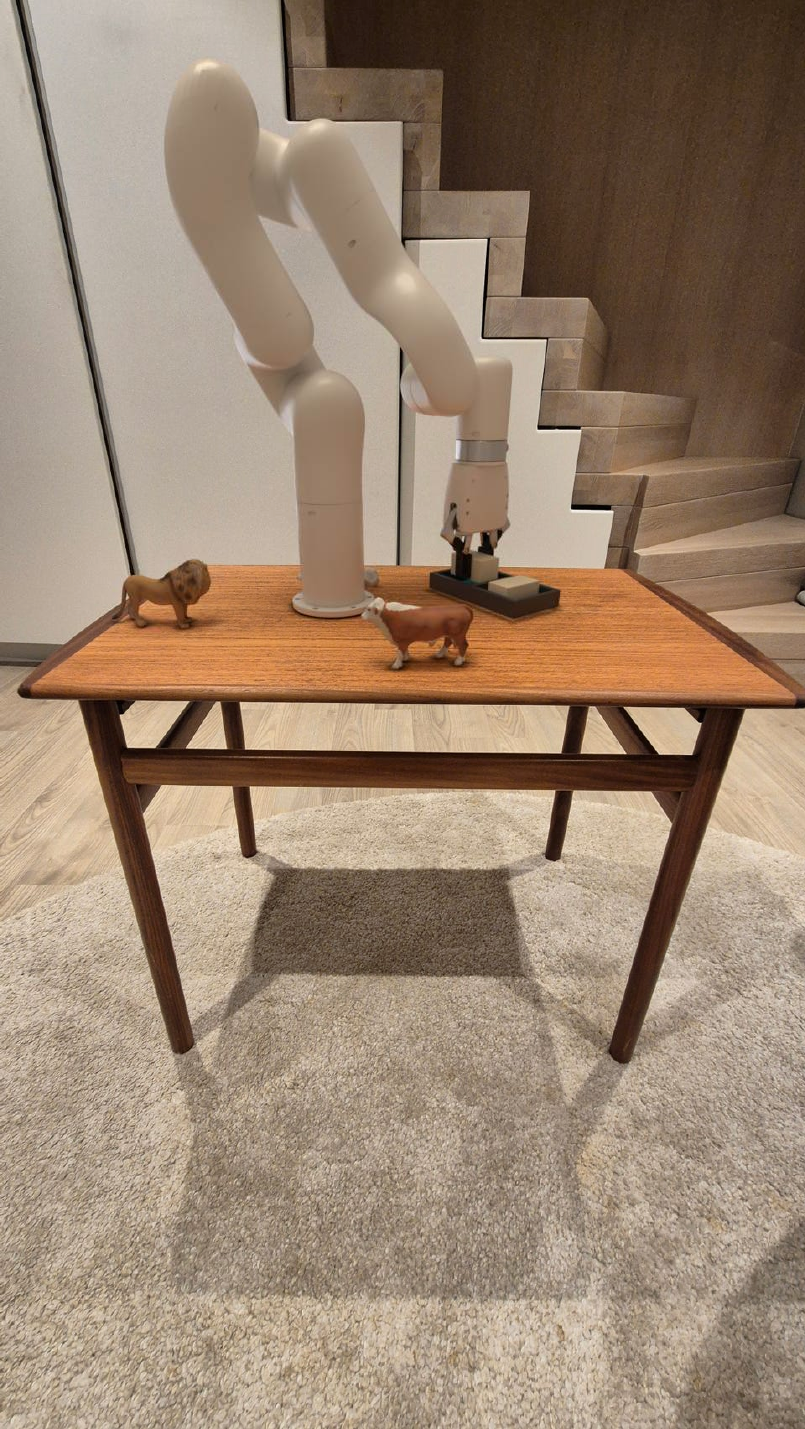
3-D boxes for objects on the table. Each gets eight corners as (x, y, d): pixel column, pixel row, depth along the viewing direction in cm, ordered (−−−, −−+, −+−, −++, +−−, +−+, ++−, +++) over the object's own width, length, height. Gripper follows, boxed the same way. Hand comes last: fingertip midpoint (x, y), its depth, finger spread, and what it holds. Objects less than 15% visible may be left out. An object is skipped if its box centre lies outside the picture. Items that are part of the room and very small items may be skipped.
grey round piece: (359, 584, 103) (359, 566, 102) (381, 584, 103) (381, 567, 102) (357, 590, 100) (357, 572, 99) (379, 590, 100) (379, 572, 98)
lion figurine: (221, 616, 88) (212, 554, 83) (212, 629, 83) (202, 564, 79) (119, 616, 87) (105, 554, 83) (104, 629, 82) (89, 564, 78)
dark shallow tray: (512, 622, 87) (514, 601, 85) (429, 590, 100) (429, 572, 99) (558, 609, 92) (561, 590, 90) (473, 581, 105) (474, 563, 104)
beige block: (486, 604, 92) (488, 581, 90) (518, 596, 96) (520, 574, 94) (505, 611, 89) (507, 588, 88) (537, 602, 93) (540, 580, 91)
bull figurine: (362, 656, 75) (360, 593, 71) (468, 654, 76) (472, 591, 72) (362, 671, 71) (360, 604, 67) (474, 668, 72) (479, 603, 68)
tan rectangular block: (479, 583, 94) (481, 561, 93) (450, 573, 99) (451, 552, 98) (497, 579, 96) (499, 557, 95) (468, 570, 101) (469, 549, 100)
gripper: (502, 448, 96) (494, 562, 105) (421, 454, 87) (419, 578, 96) (538, 451, 91) (526, 571, 100) (455, 458, 82) (450, 589, 91)
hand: (473, 573), depth 98 cm, fingers closed on tan rectangular block, 4 cm apart
